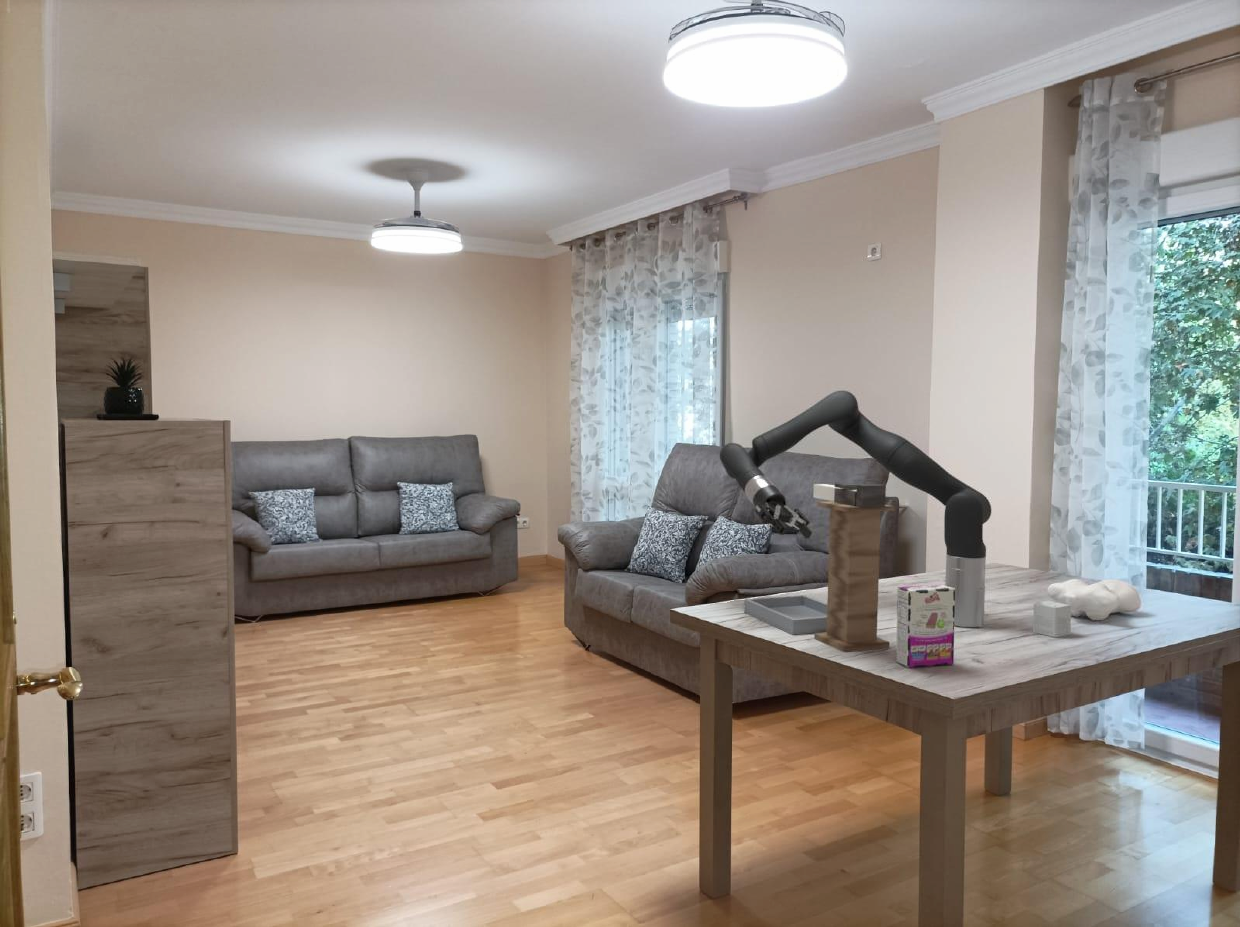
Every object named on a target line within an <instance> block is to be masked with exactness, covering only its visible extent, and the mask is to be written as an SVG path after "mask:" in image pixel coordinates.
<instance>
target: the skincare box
mask: <svg viewBox="0 0 1240 927" xmlns="http://www.w3.org/2000/svg"><path fill="white" fill-rule="evenodd" d="M1071 621H1072V615H1071V605H1067V604H1062V603H1058V602H1057V601H1054V600H1044V601H1039V602H1034V603H1033V624H1032V625H1033V630H1032V631H1033V633H1035V634H1039V635H1044V636H1048V637H1051V638H1061V637H1066V636H1070V635H1071V626H1072V625H1071V623H1072V622H1071Z"/></svg>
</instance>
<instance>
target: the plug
mask: <svg viewBox="0 0 1240 927" xmlns="http://www.w3.org/2000/svg"><path fill="white" fill-rule="evenodd" d="M837 488H838V487H835V484H829V483H828V484H826V483H814V484H813V494H812V495H813V498H815V499H820V500H825V501H834V492H835V489H837ZM839 489H844V488H839ZM845 490H851V491H857V489H854V488H851V489H845Z"/></svg>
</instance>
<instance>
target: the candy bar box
mask: <svg viewBox="0 0 1240 927" xmlns="http://www.w3.org/2000/svg"><path fill="white" fill-rule="evenodd" d="M896 596H897V598H896V599H897V601H896V602H897V606H896V617H897V618H896V657H895V658H896V663H897V664H899V665H900V666H904V667H906V668H908V669H912V668H913V669H914V668H927V667H939V666H949V665H950V666H952V665H954V659H955V657H954V656H955V654H954V652H955V651H954V649H955V626H954V617H955V616H954V615H955V588H952V587H949V586H946V585H945V584H929V585H928V584H925V585H911V586H898V587H897V595H896Z"/></svg>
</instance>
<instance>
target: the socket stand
mask: <svg viewBox="0 0 1240 927" xmlns="http://www.w3.org/2000/svg"><path fill="white" fill-rule="evenodd" d="M834 485H835V487H838V488H837V489H835V492H834V501H830V500H828V501H817V507H820V508H825V509H829V534H828V536H829V537H828V565H827V566H828V570H827V572H828V573H827V574H828V575H827V602H826V603H827V632H819V633H813V637H814V640H817V641H819V642H821V643H824V644H826V645H828V646H831V647H833V648H834V649H836V650H839V651H840V652H841V651H842V652H846V653H847V652H854V651H855V652H856V651H865V650H866V651H867V650H875V649H877V650H878V649H886V648H890V644H891V643H890V641H888V640H886V639H883V638H880V637H878V613H879V612H878V610H879V609H878V608H879V607H878V606H879V605H878V604H879V603H878V602H879V581H880V580H879V579H880V578H879V576H880V545H881V519H882V518H881V517H882V516H881V514H882V512H888V511H890V512H892V511H893V512H894V511H895V506H894V505H890V504H886V493H887V489H886V488H887V487H886V486H887V485H886V484H880V483H878V484H866V483H859V482H858V483H857V482H846V483H845V482H843V483H842V482H841V483H834ZM839 488H844V489H839ZM851 488H854V489H857V491H851V490H845V489H851Z"/></svg>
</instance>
